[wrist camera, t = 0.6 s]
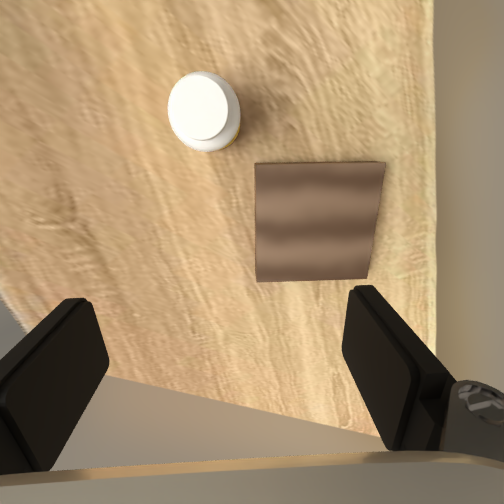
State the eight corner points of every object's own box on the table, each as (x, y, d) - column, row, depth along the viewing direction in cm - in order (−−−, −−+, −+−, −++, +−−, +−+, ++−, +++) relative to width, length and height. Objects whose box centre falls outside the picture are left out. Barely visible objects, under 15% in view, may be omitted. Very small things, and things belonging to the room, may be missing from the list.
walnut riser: (254, 163, 35) (255, 164, 33) (374, 161, 36) (386, 162, 33) (255, 272, 41) (256, 282, 39) (358, 269, 42) (367, 278, 39)
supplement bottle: (250, 131, 34) (256, 125, 22) (206, 160, 35) (190, 169, 23) (221, 78, 32) (210, 39, 20) (175, 110, 33) (138, 92, 21)
